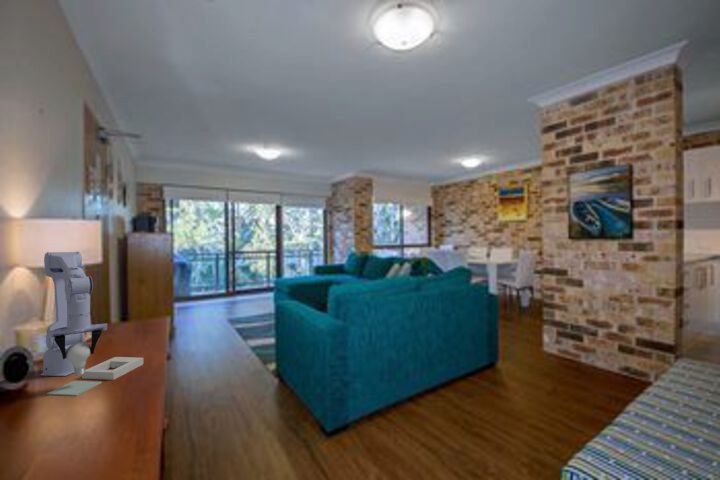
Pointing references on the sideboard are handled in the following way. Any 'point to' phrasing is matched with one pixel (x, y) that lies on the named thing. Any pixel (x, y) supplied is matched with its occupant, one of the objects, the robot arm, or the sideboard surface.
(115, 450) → the sideboard surface
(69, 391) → the mat
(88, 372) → the bulb holder
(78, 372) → the lightbulb
